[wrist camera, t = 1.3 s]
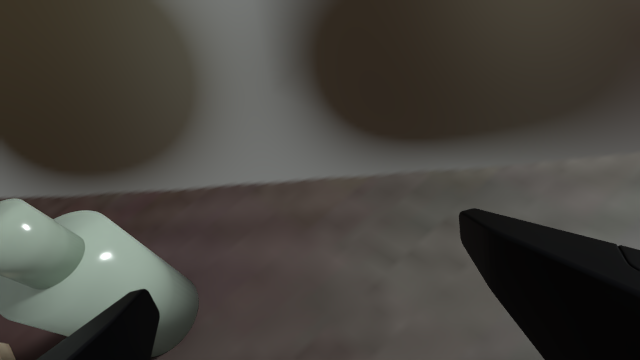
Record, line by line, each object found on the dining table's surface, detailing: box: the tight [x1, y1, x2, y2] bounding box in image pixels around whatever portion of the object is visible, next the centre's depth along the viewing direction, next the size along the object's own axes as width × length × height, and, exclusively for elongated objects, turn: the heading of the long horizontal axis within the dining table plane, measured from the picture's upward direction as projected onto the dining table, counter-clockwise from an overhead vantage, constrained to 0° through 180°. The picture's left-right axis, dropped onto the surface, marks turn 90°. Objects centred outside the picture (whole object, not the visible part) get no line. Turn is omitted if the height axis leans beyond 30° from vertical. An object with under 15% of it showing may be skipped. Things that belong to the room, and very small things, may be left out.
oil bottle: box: [0, 199, 199, 357], centre depth 19 cm, size 6×6×14 cm
